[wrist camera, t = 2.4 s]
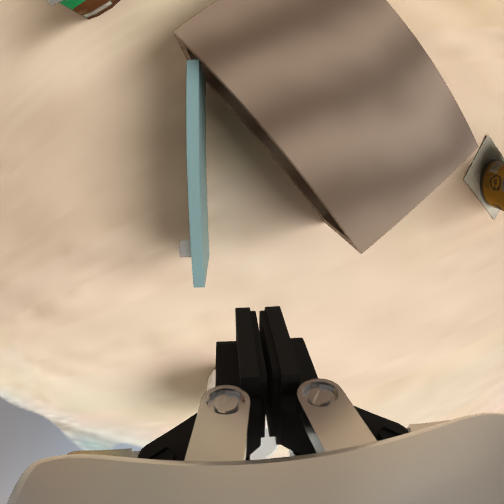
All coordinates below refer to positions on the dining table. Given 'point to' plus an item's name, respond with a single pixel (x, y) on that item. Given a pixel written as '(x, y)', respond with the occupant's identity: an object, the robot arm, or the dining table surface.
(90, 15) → the food container
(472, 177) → the condiment
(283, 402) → the robot arm
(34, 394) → the dining table surface
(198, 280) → the door
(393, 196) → the bread box
